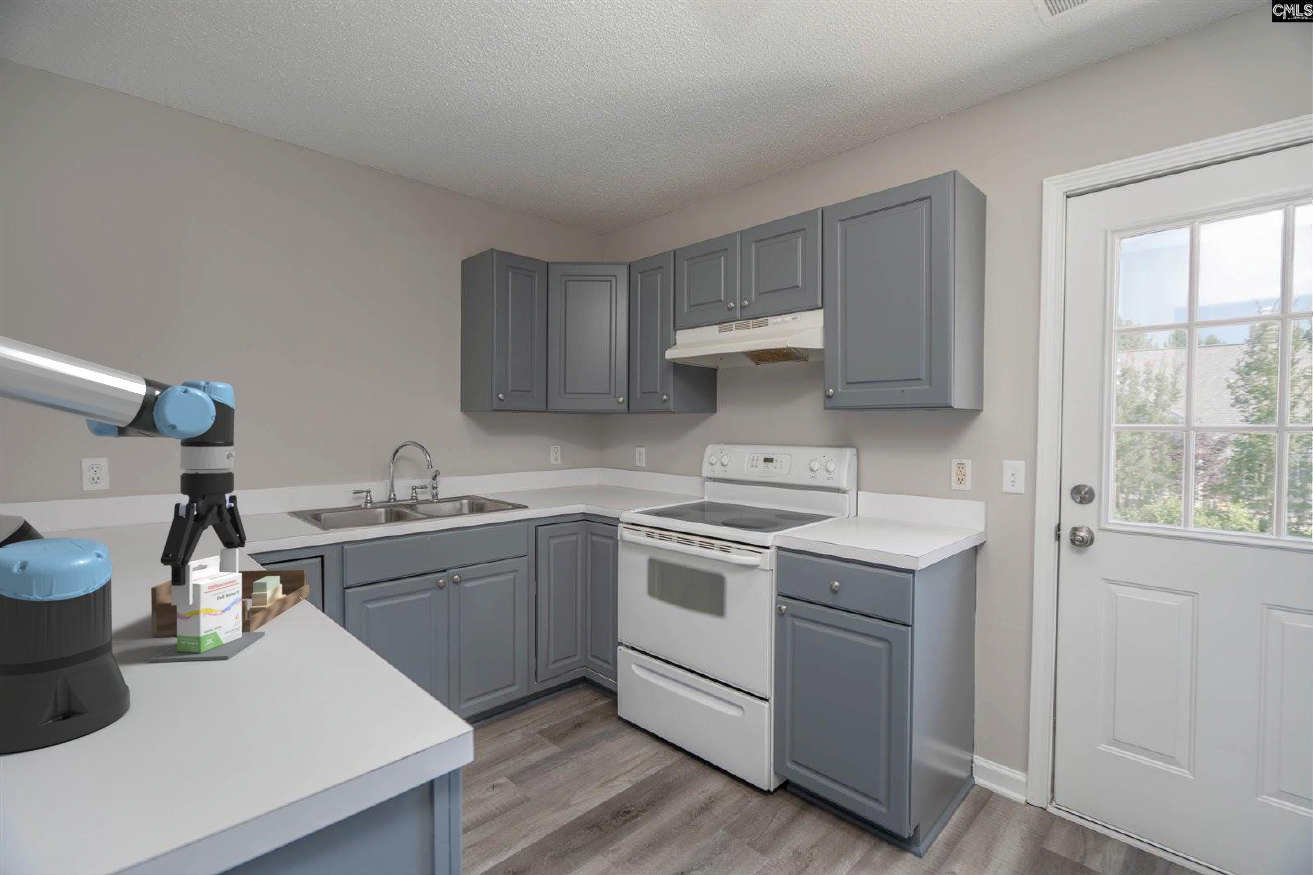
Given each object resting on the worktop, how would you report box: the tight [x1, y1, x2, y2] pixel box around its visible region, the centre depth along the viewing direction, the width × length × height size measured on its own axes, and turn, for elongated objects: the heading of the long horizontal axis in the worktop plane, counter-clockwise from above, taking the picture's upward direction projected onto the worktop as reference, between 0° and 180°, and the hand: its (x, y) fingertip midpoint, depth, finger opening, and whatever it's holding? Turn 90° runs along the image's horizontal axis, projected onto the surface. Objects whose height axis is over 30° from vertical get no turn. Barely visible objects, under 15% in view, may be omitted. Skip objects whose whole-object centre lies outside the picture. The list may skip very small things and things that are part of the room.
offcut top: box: [253, 576, 280, 592], centre depth 127 cm, size 5×3×2 cm, turn 4°
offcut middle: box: [251, 584, 282, 607], centre depth 127 cm, size 7×3×2 cm, turn 10°
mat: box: [148, 631, 266, 664], centre depth 108 cm, size 12×12×1 cm
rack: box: [150, 566, 311, 637], centre depth 127 cm, size 25×17×9 cm, turn 7°
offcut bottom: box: [249, 595, 286, 618], centre depth 127 cm, size 9×3×3 cm, turn 8°
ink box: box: [176, 555, 243, 653], centre depth 108 cm, size 9×5×15 cm, turn 169°
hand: (207, 593), depth 108 cm, fingers open, 13 cm apart
